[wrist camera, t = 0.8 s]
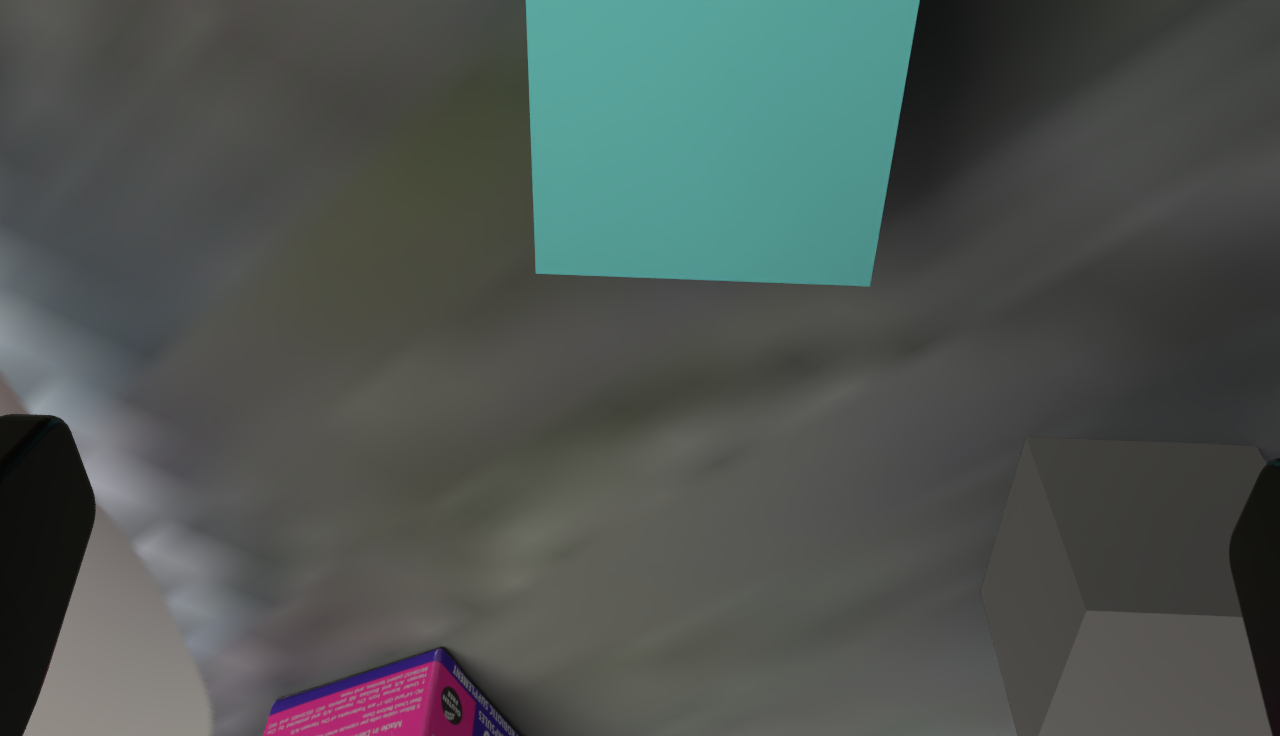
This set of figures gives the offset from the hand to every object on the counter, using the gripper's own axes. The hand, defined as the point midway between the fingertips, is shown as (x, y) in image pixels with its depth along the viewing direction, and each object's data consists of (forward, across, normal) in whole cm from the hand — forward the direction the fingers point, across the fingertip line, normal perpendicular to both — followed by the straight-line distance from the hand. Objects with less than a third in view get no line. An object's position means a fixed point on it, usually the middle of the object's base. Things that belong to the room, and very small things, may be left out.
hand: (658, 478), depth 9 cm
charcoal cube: (+13, -10, +13) cm, 21 cm away
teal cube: (+13, -1, +1) cm, 13 cm away
